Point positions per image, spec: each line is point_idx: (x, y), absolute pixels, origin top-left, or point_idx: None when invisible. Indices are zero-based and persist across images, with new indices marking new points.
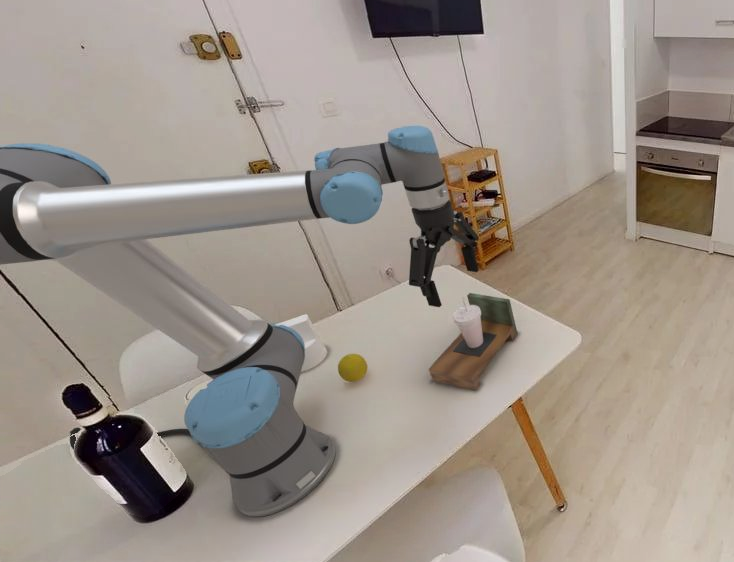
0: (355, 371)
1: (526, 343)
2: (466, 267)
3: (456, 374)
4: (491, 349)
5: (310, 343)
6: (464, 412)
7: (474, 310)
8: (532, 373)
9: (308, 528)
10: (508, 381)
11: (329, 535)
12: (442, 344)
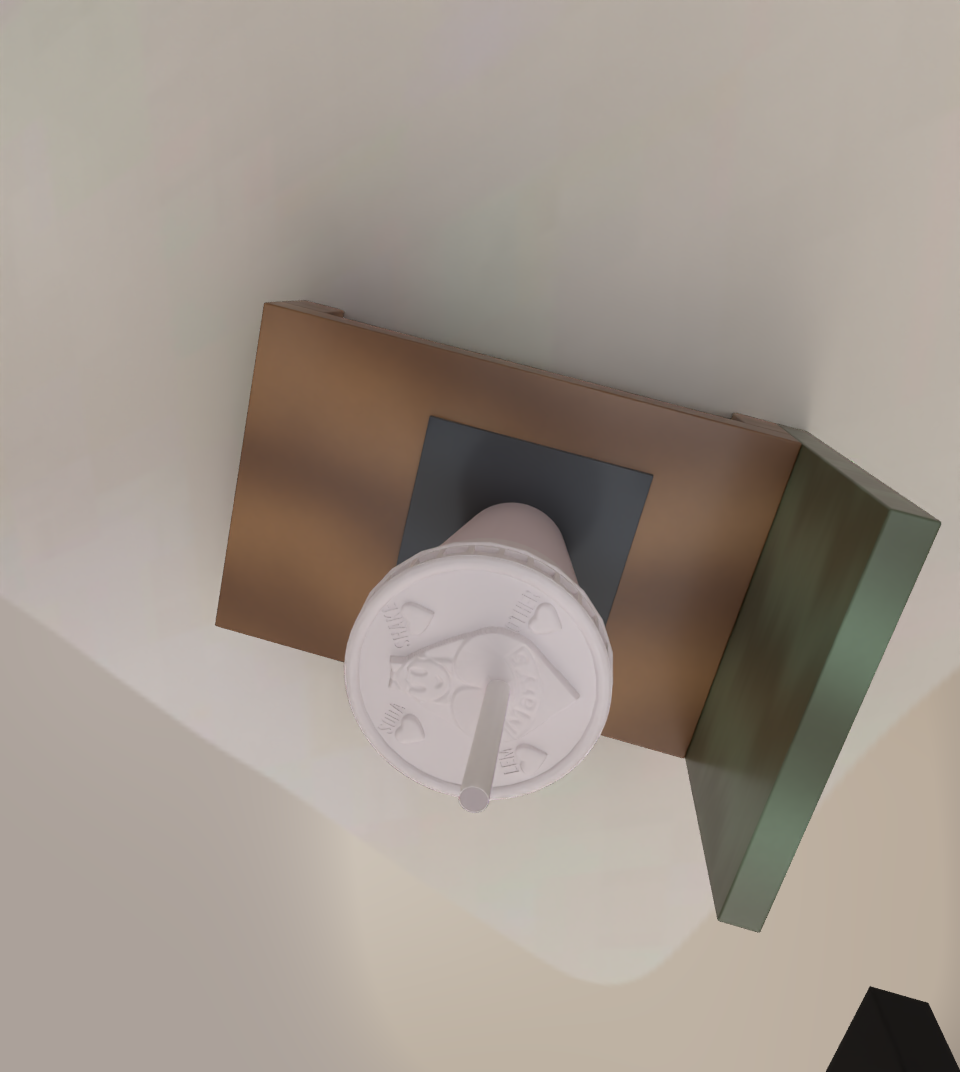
0: None
1: (609, 778)
2: (897, 1054)
3: (235, 520)
4: None
5: None
6: (123, 573)
7: (519, 743)
8: (381, 841)
9: None
10: (324, 737)
11: None
12: (633, 209)
